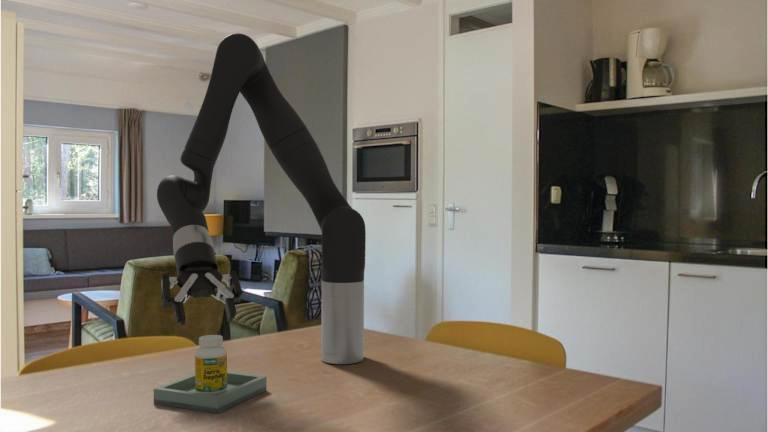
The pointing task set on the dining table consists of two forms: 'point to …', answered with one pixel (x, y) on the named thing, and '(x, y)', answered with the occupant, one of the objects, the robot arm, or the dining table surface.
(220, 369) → the supplement bottle
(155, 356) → the dining table surface
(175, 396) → the tray
